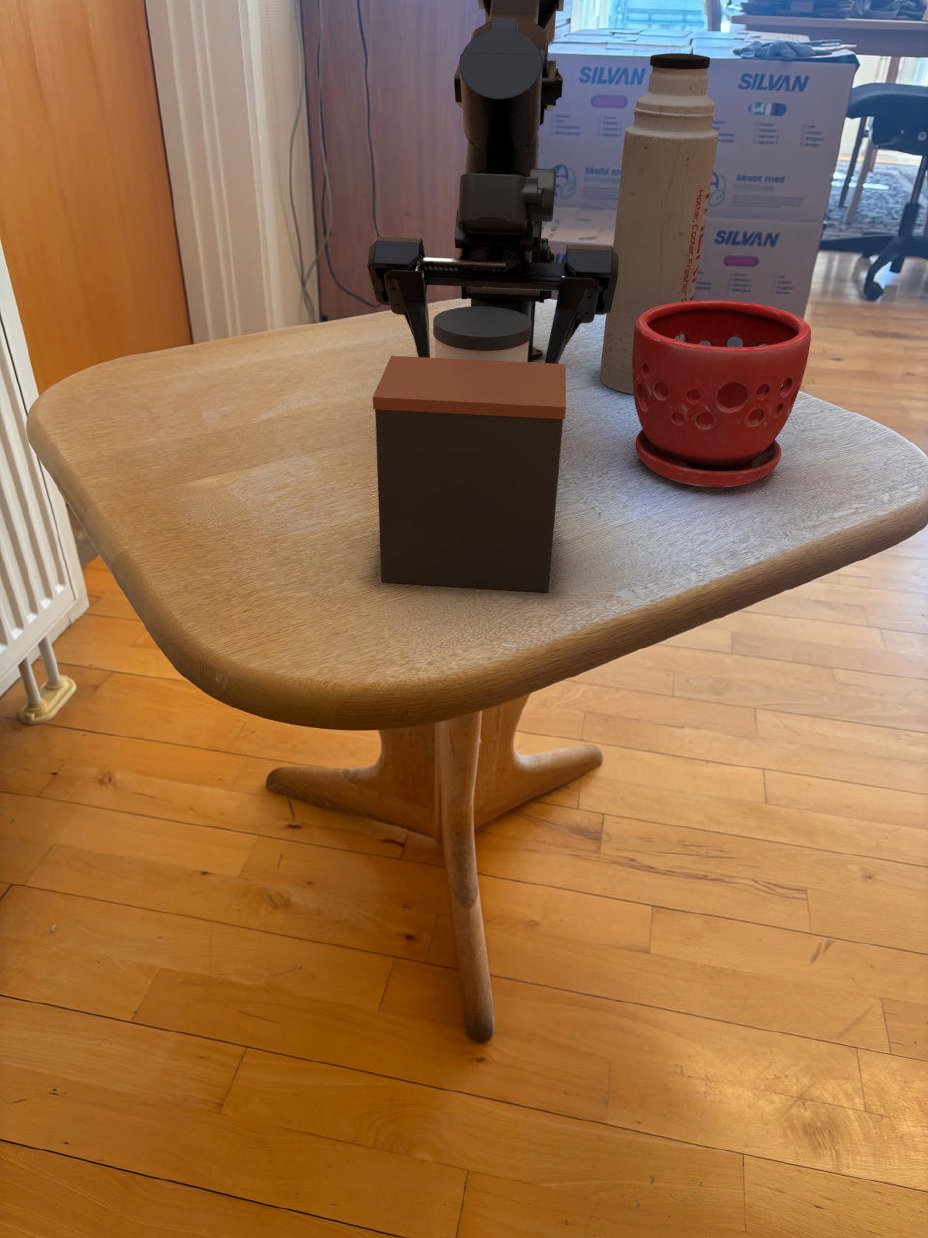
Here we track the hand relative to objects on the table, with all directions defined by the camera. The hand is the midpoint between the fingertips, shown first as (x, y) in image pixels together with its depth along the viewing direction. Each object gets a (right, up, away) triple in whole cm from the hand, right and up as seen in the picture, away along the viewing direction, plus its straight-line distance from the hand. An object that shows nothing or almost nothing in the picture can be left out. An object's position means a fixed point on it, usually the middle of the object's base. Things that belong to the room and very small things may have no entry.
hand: (485, 379), depth 71 cm
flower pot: (+18, -6, +7) cm, 20 cm away
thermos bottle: (+16, +5, +23) cm, 28 cm away
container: (-1, -8, +1) cm, 8 cm away
